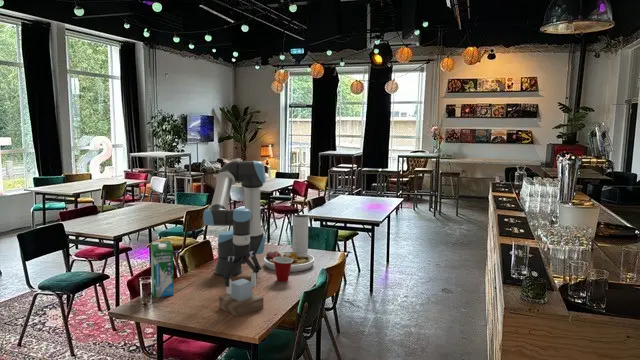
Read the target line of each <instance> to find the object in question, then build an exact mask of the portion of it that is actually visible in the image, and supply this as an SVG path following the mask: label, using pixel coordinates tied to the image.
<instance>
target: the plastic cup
mask: <svg viewBox="0 0 640 360" xmlns="http://www.w3.org/2000/svg"><path fill="white" fill-rule="evenodd" d="M273 260H274V264H275V270H276V271H275V270H274V271H275V275H276V280H277V282H279V283H285V282H288V281H289V276H290V273H291V272H290V267H291V264H292V262H293V259H291V258H288V257H275V258H273Z"/></svg>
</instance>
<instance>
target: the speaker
mask: <svg viewBox="0 0 640 360" xmlns="http://www.w3.org/2000/svg"><path fill="white" fill-rule="evenodd" d="M309 219H310V217H309V215H307V214H293V216H292V244H291V245H292V246H291V247H292V249H291V250H292V251H291V252H300V253H306V254H309V248H308V247H309Z"/></svg>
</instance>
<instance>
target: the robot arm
mask: <svg viewBox="0 0 640 360" xmlns="http://www.w3.org/2000/svg"><path fill="white" fill-rule="evenodd" d="M215 180H216V185H215V190H214V193H213V197H212V199H211V200H212V201H211V203H210V208H209V209H207V208H206V209H204V211H203V218H202V220H203V224H204V225H205V226H211V227H212V226H213V227H214V226H215V227H216V226H219V227H220V226H221V227H223V226H226V227H227V226H229V227H230V226H231V227H232V230H226V231H223V232H220V233H219V234H218V236H217V261H216V265H215V268H214V274H215V275H218V276H220V278H221V279H223V280H224V286H225V289H226V290H225V291H226V294H227V295H228V294H231V282H232V279H231V278H232V276H237V275H239V274H242V273H243V266H242V265H247V266H248V267H249V268H250V269H251V273H250V282H252V287H254V288H257V279H258V273H259V272H260V271H261V270H262V267H261V265H260V262H259V261H258V258H257V256H256V255H261V254H263V253H264V251H265V244H266V235H267V234H266V233H264V230H263V228H261V227H262V226H261V225H262V224H261V222H262V221H261V188H262V187H263V186H264V184H265V183H266V182H267V179H266V170H265V164H264V163H263V162H262V161H260V160H259V161H257V160H232V161H229V162H227V163H226V164H224V165H223V166H222V167H221V168H220V169H219V171H218V172H217V174H216V179H215ZM235 183H241V185H240V186H241V187H242V188H243V189H244V191H243V192H244V207H238V208H234V209H228V204H229V201H230V195H231V191H232V186H233V185H234V184H235ZM250 259H251V260H250Z"/></svg>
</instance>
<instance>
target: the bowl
mask: <svg viewBox="0 0 640 360" xmlns="http://www.w3.org/2000/svg"><path fill="white" fill-rule="evenodd" d="M275 257H288V258H291V259H293V262H292V264H291V267H290V273H295V272H296V273H297V272H303V271H305V270H308V269H310V268H312V266H313V265H314V263H315V257H314V256H313V255H311V254H309V253H308V254H306V253H300V252H292V251H277V250H275V251H268V252H267V253H266V255H265V256H264V257H263V263H264V265H265V267H267V268H268V269H270V270H271V271H275V272H276V270H275V264H274V260H273V258H275Z"/></svg>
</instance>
